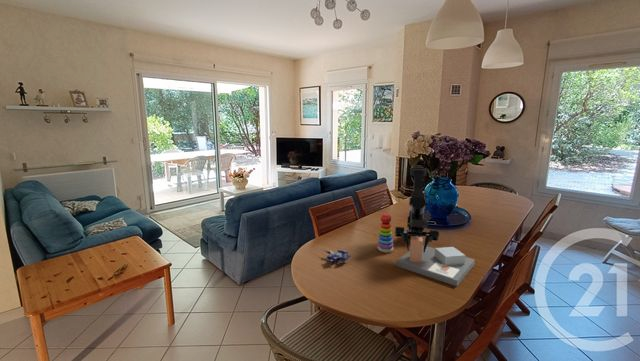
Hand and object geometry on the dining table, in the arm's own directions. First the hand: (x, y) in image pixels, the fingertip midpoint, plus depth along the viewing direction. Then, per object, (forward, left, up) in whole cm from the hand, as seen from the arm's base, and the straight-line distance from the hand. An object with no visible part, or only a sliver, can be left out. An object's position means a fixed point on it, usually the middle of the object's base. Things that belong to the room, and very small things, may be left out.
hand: (416, 251), depth 133 cm
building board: (+6, +7, -7) cm, 12 cm away
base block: (+11, +11, -5) cm, 16 cm away
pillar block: (-1, +1, -5) cm, 5 cm away
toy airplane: (-31, -18, -7) cm, 36 cm away
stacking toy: (-19, +7, -7) cm, 21 cm away
